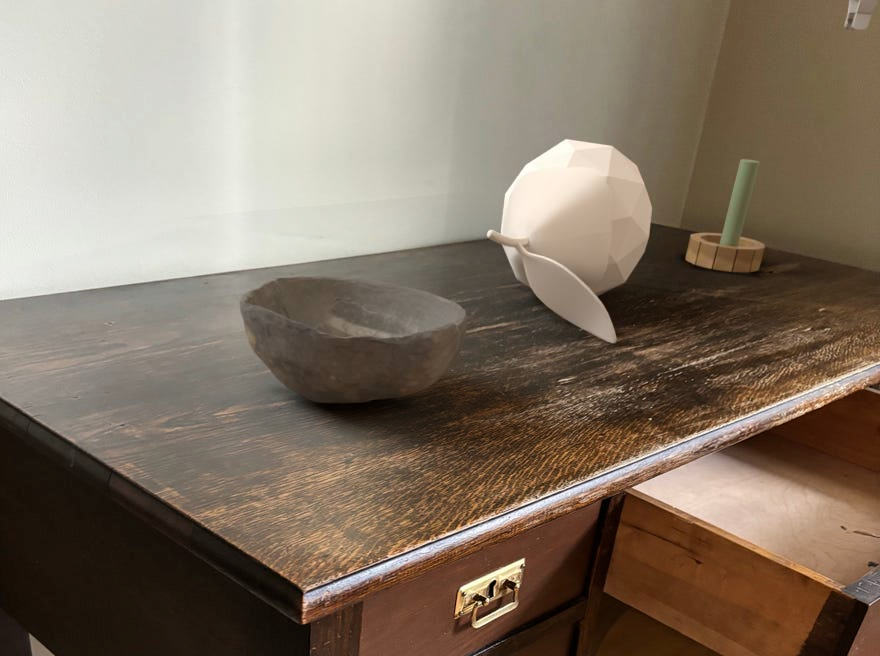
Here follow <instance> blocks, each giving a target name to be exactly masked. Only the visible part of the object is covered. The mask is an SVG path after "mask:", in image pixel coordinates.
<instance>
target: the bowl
mask: <svg viewBox="0 0 880 656" xmlns="http://www.w3.org/2000/svg"><path fill="white" fill-rule="evenodd" d="M239 311H240V315H241V317H242V321H243V327H244V331H245V336H246V339H247V343H248V345H249V346H250V348H251V350H252V352H253V354H255V356H257V358H258V359H260V361H261V362H262V363H263V364H264V365H265V366H266V368H268V370H269V371H270V373H271V374H272V375H273V376H274V377H275V379H276V380H277V381H278V382H280V383H281V384H282V385H283V386H285V387H286V388H287V389H289V390H291V391H293V392H294V393H296V394H298V395H300V396H303V397H304V398H306V399H307V400H309V401H311V402H314V403H320V404H356V403H357V404H358V403H366V402H371V401H373V400H374V401H375V400H388V399H398V398H404V397H407V396H411V395H413V394H417V393H420V392H422V391H424V390H426V389H428V388H430V387H431V386H432V385H434V384H435V383H437V382H438V381H439V380H441V379H442V378H443V377H444V376H445V375H446V374H447V373H448V372H449V371H450V370H451V369H452V368H453V367H454V364H455V363H456V361H457V360H458V358H459V357H460V355H461V352H462V350H463V346H464V343H465V340H466V337H467V329H468V328H467V327H468V317H467V312H466V310H465V309H464V308H463V307H462V306H461V305H460V304H458V303H457V302H455V301H454V300H451V299H447V298H445V297H443V296H440V295H437V294H434V293H431V292H428V291H425V290H421V289H419V288H412V287H409V286H404V285H399V284H395V283H394V284H393V283H388V282H384V281H377V280H371V279H365V278H358V277H345V276H332V275H312V276H304V275H297V276H288V277H287V276H284V277H283V276H281V277H273V278H272V279H271V280H267V281H266V282H265V283H263V284H261V285H260V286H258V287H255V288H254V289H250V290H249V291H247V292H245V293H243V295H242V296H241V298H240V299H239Z"/></svg>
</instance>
